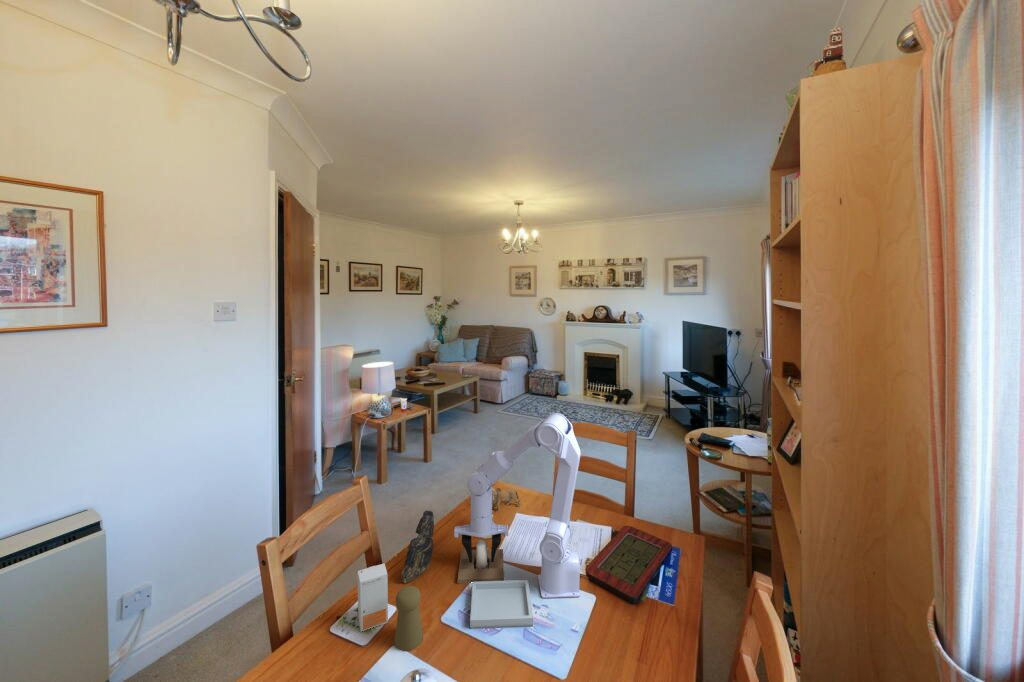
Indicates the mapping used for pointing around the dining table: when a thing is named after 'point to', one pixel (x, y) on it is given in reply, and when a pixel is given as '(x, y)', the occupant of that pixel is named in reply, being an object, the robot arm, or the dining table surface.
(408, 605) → the olive game pawn
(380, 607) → the skincare box
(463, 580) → the brown square board
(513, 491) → the lion figurine
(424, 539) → the statue
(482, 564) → the dowel
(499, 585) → the grey tray
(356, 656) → the dining table surface
